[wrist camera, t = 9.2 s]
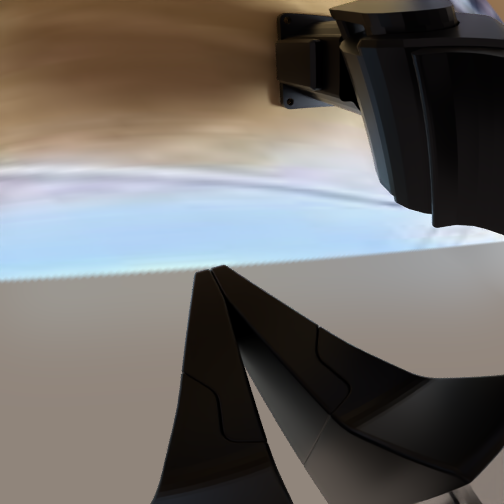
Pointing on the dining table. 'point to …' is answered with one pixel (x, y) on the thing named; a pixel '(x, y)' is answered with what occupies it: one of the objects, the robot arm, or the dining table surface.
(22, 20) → the dining table surface
